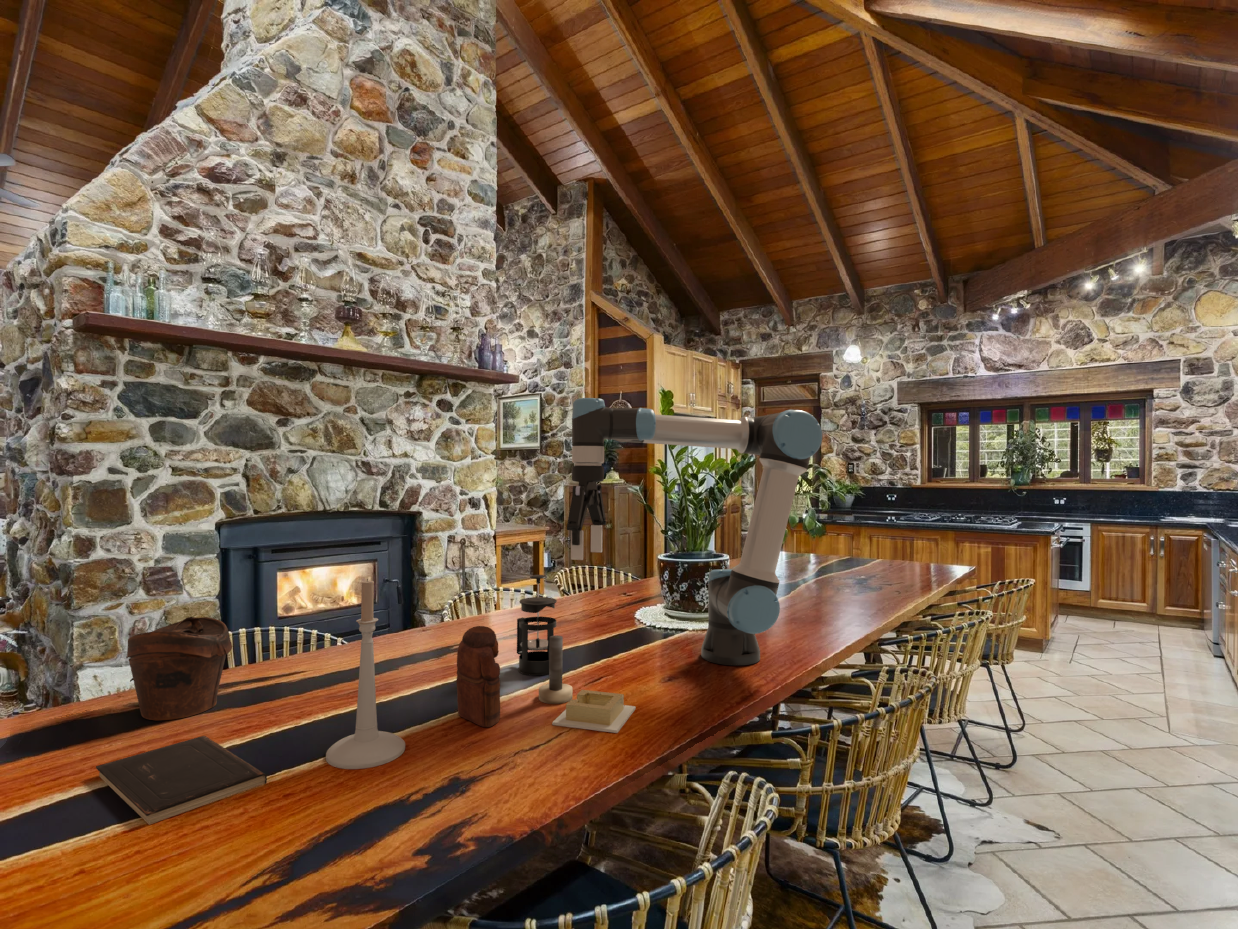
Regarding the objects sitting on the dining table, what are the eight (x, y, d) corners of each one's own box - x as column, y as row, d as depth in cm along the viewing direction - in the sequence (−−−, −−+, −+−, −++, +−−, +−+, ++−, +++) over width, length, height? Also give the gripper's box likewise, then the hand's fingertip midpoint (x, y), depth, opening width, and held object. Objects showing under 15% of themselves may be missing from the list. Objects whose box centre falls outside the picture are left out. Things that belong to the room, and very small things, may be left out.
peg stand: (577, 694, 145) (577, 634, 145) (565, 705, 138) (565, 642, 138) (546, 690, 147) (547, 631, 147) (533, 701, 140) (533, 640, 140)
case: (217, 685, 149) (216, 605, 148) (244, 710, 134) (243, 621, 134) (118, 707, 136) (117, 619, 136) (136, 736, 122) (135, 639, 122)
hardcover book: (146, 830, 91) (146, 813, 91) (95, 780, 106) (95, 766, 106) (267, 786, 104) (267, 772, 104) (207, 747, 118) (207, 734, 118)
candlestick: (358, 776, 106) (359, 588, 107) (309, 757, 113) (311, 580, 113) (420, 747, 117) (422, 577, 117) (373, 731, 124) (374, 570, 124)
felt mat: (635, 709, 137) (635, 706, 137) (617, 733, 124) (617, 730, 124) (575, 702, 140) (575, 699, 140) (552, 724, 128) (552, 722, 128)
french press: (566, 669, 163) (567, 575, 163) (539, 679, 155) (540, 580, 155) (532, 660, 170) (533, 570, 170) (505, 669, 162) (505, 575, 162)
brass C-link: (623, 709, 135) (623, 694, 135) (610, 725, 127) (610, 709, 127) (581, 704, 138) (581, 689, 138) (565, 720, 129) (566, 704, 129)
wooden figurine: (510, 721, 130) (511, 629, 130) (483, 731, 125) (484, 634, 125) (476, 706, 138) (477, 618, 138) (449, 714, 133) (449, 624, 133)
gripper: (590, 464, 169) (589, 548, 169) (552, 464, 145) (551, 562, 145) (618, 465, 167) (617, 550, 167) (585, 464, 143) (584, 564, 143)
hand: (587, 555), depth 156 cm, fingers open, 13 cm apart
